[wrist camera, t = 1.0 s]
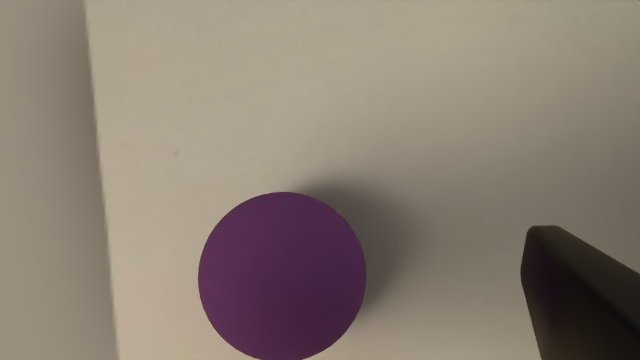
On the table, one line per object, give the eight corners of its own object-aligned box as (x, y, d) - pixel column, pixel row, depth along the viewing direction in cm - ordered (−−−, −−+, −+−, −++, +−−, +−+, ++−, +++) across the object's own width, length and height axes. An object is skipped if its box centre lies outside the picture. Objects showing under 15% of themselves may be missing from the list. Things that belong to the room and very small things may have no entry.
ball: (370, 339, 21) (359, 394, 16) (229, 333, 22) (167, 383, 16) (370, 192, 22) (358, 191, 16) (230, 192, 23) (169, 191, 17)
